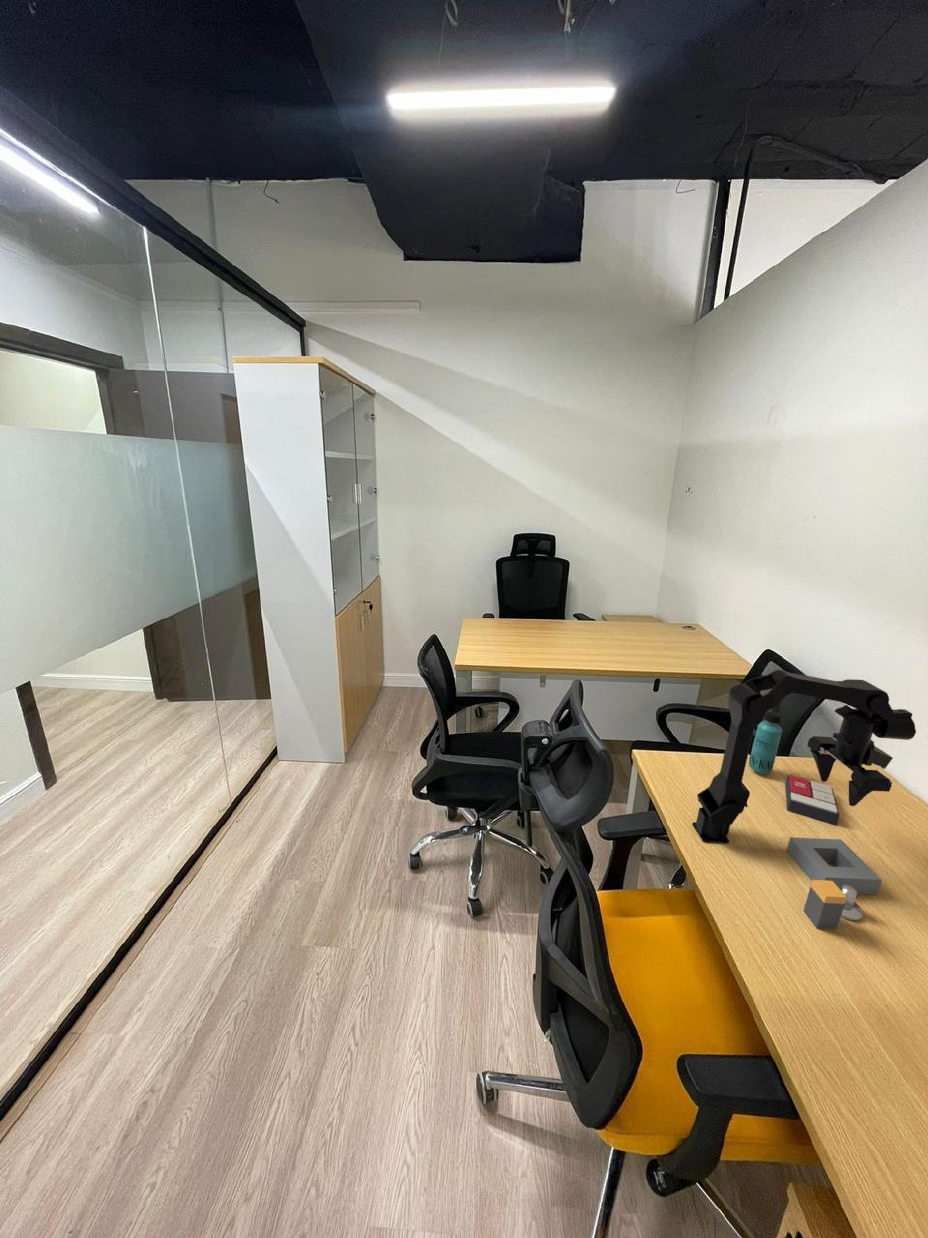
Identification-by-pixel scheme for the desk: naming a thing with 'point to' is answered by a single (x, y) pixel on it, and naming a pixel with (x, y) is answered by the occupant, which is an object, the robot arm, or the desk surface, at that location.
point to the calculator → (811, 800)
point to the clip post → (851, 905)
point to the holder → (848, 865)
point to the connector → (824, 904)
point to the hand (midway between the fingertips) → (837, 793)
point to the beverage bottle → (766, 744)
